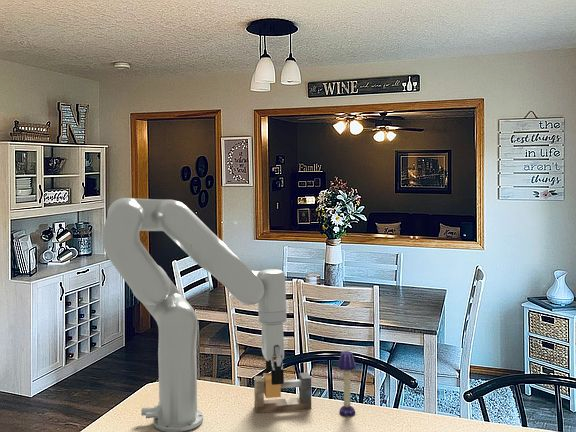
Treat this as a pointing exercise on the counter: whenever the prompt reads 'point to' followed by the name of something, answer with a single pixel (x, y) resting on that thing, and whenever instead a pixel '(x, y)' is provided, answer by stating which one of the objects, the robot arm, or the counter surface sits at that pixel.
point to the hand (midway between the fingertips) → (274, 377)
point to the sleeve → (271, 387)
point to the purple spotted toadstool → (346, 381)
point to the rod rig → (286, 403)
